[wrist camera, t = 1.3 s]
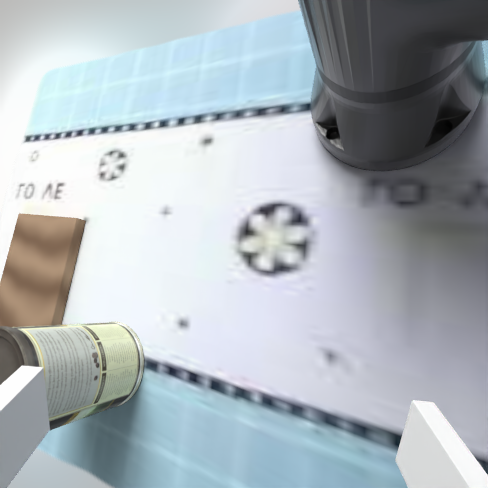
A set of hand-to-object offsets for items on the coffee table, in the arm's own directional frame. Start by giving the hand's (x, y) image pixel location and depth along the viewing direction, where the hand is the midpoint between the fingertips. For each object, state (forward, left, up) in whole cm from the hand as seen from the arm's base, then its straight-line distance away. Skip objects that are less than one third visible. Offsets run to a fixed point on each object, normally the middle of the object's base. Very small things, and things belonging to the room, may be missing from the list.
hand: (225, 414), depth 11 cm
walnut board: (0, -44, -21) cm, 48 cm away
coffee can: (+8, -26, -21) cm, 34 cm away
